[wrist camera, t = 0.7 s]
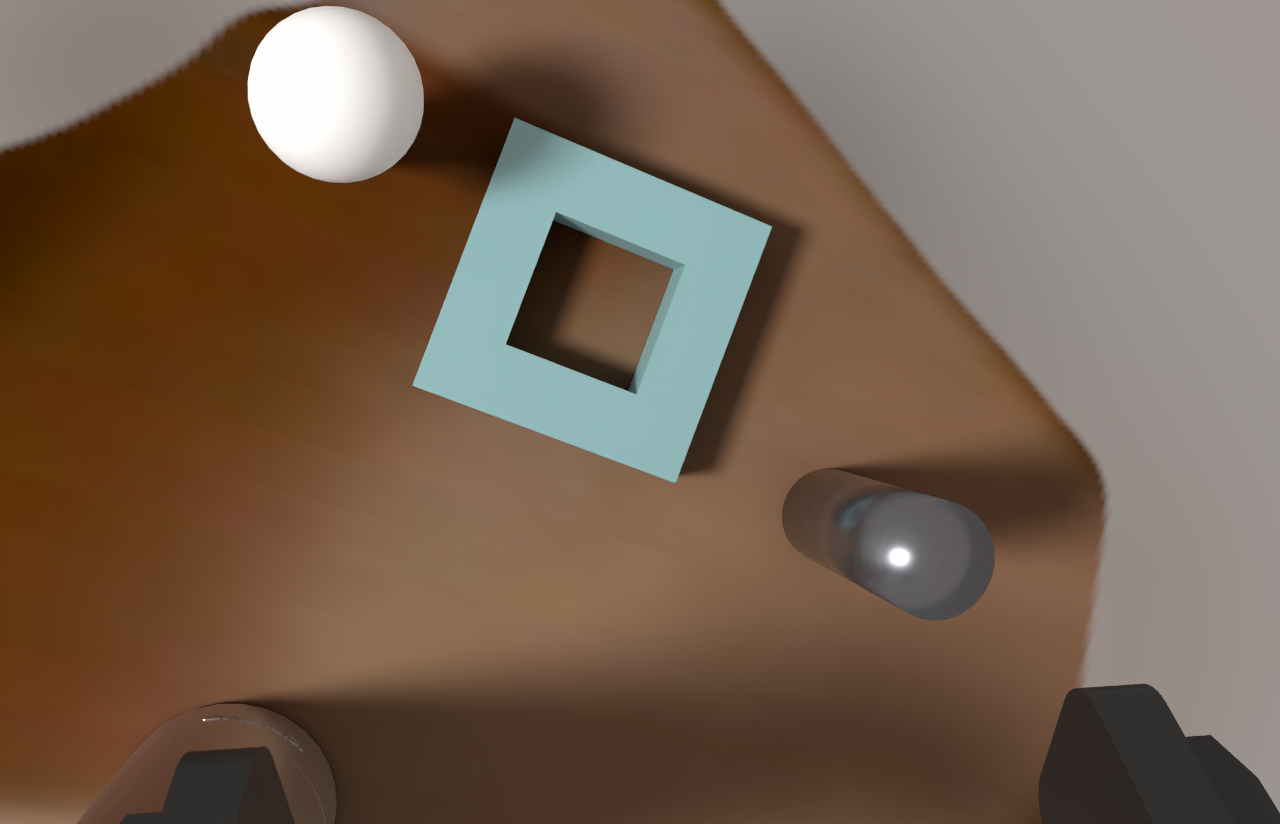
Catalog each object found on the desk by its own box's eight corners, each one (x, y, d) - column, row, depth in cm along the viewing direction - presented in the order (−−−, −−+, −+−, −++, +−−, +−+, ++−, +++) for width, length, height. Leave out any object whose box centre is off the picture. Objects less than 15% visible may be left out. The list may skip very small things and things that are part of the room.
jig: (664, 477, 51) (675, 483, 48) (414, 384, 48) (412, 385, 46) (756, 233, 51) (772, 226, 48) (511, 129, 49) (514, 117, 46)
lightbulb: (445, 96, 48) (444, 19, 37) (403, 230, 48) (391, 192, 37) (306, 47, 47) (263, -47, 36) (263, 183, 47) (208, 130, 36)
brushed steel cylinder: (852, 573, 52) (969, 636, 41) (768, 543, 52) (863, 597, 40) (884, 487, 52) (1011, 523, 41) (801, 455, 52) (906, 483, 40)
